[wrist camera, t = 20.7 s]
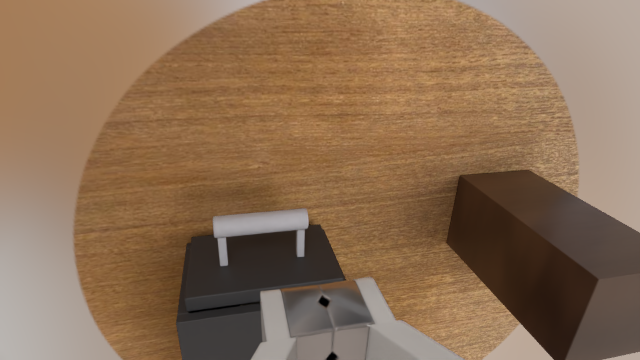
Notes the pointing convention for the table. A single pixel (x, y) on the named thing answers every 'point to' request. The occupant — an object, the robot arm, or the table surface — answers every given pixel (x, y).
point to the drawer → (256, 258)
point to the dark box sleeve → (219, 328)
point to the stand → (551, 262)
